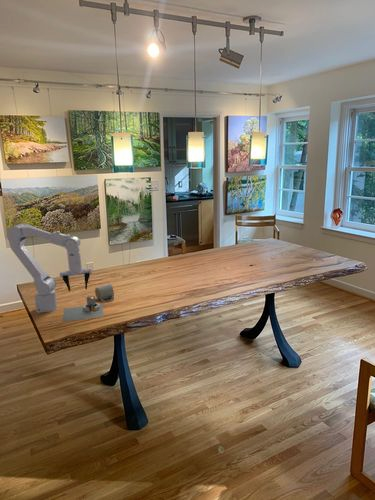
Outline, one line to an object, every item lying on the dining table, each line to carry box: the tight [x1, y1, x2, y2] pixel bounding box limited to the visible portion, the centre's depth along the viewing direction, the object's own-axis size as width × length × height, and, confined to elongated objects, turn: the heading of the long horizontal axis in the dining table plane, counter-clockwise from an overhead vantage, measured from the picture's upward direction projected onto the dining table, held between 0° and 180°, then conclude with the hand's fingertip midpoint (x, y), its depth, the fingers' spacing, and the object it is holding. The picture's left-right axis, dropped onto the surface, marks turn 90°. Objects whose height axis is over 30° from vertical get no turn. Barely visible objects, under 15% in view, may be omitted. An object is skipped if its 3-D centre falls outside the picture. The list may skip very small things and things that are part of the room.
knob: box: [86, 295, 97, 311], centre depth 182 cm, size 5×4×6 cm
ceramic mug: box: [94, 283, 115, 303], centre depth 194 cm, size 11×8×8 cm
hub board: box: [62, 302, 104, 323], centre depth 178 cm, size 18×16×2 cm
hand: (77, 289), depth 181 cm, fingers open, 7 cm apart
